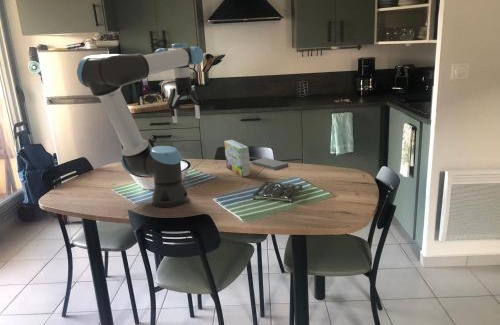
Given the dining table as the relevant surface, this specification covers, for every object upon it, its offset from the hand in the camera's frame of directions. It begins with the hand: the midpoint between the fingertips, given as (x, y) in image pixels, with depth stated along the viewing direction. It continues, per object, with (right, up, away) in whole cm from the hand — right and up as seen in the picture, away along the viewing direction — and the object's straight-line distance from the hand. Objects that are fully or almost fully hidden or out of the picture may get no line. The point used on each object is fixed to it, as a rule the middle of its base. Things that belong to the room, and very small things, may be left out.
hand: (186, 120), depth 199 cm
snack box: (+25, -26, +11) cm, 38 cm away
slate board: (+42, -22, +20) cm, 51 cm away
